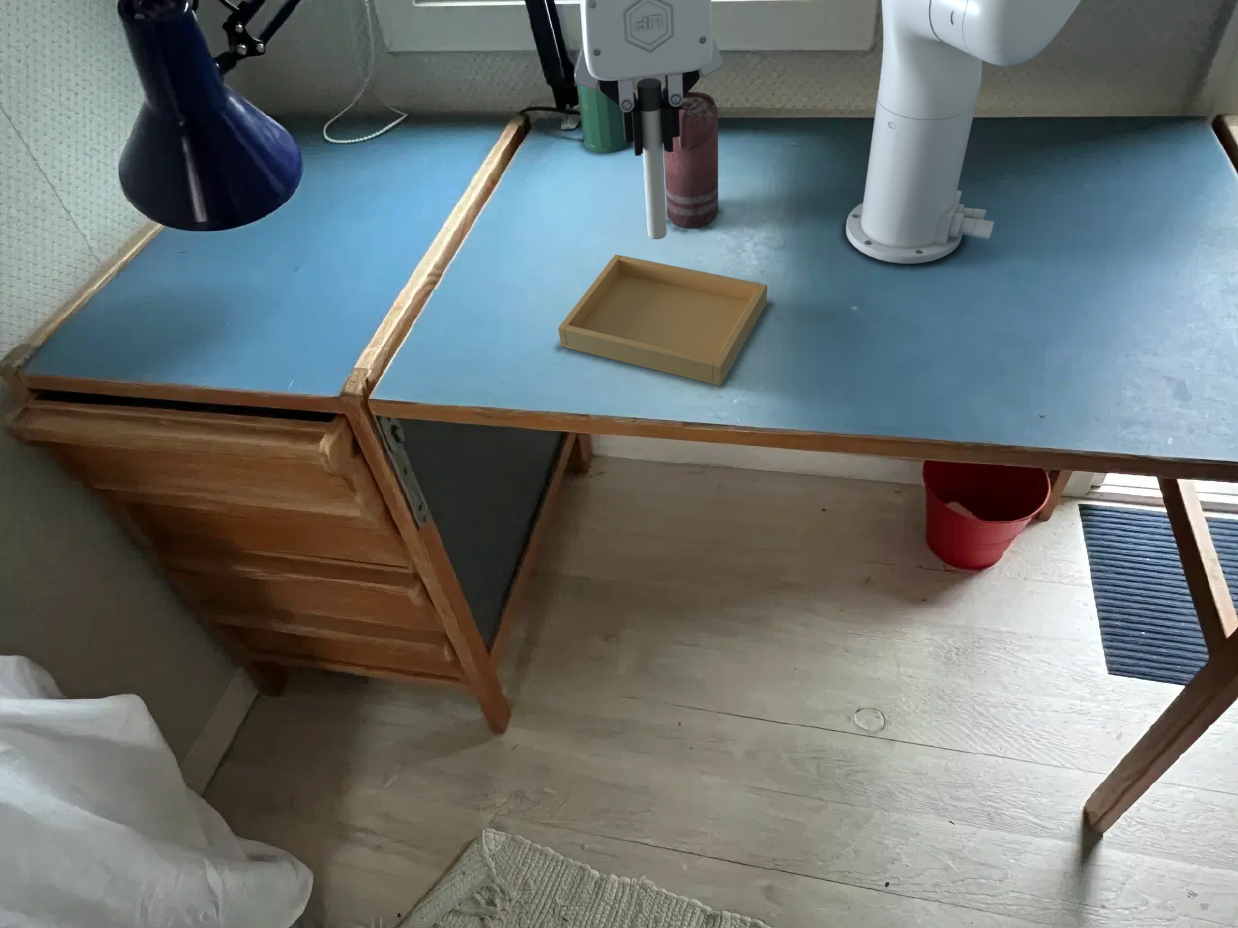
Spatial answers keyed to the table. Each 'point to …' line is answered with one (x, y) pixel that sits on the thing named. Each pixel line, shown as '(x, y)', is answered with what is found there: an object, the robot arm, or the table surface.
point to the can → (693, 164)
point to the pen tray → (665, 318)
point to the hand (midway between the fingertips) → (652, 145)
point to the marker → (653, 155)
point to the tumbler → (601, 121)
